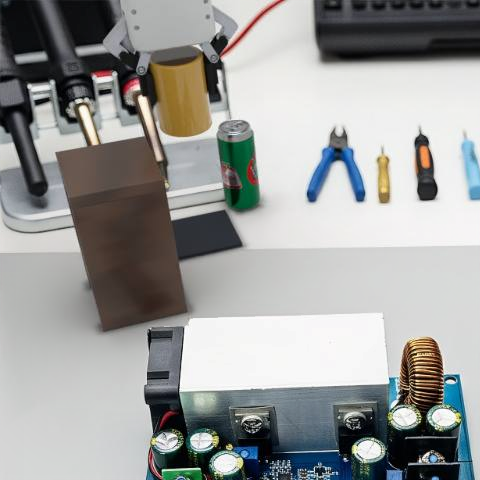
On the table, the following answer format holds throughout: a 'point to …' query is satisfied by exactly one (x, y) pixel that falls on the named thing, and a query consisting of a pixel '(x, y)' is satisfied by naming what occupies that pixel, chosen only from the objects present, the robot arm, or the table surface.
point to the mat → (204, 234)
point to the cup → (181, 91)
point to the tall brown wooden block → (124, 231)
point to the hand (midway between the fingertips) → (181, 94)
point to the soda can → (238, 164)
